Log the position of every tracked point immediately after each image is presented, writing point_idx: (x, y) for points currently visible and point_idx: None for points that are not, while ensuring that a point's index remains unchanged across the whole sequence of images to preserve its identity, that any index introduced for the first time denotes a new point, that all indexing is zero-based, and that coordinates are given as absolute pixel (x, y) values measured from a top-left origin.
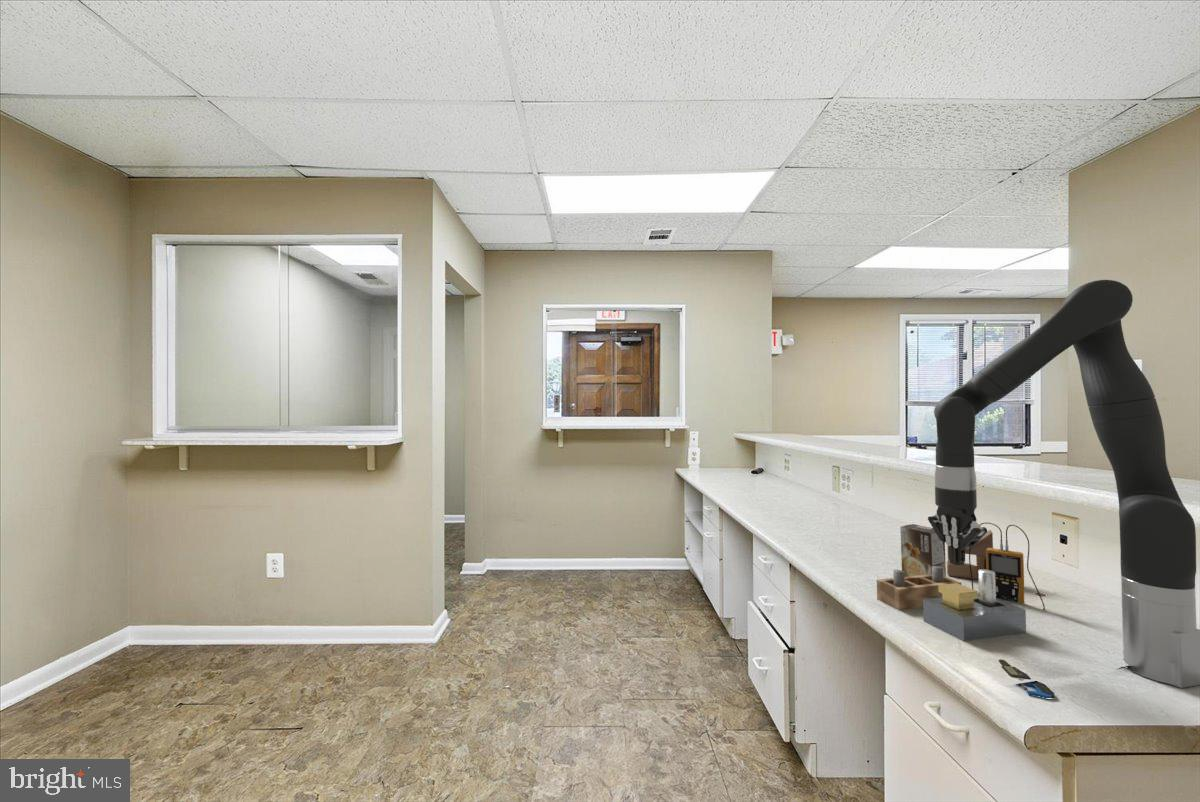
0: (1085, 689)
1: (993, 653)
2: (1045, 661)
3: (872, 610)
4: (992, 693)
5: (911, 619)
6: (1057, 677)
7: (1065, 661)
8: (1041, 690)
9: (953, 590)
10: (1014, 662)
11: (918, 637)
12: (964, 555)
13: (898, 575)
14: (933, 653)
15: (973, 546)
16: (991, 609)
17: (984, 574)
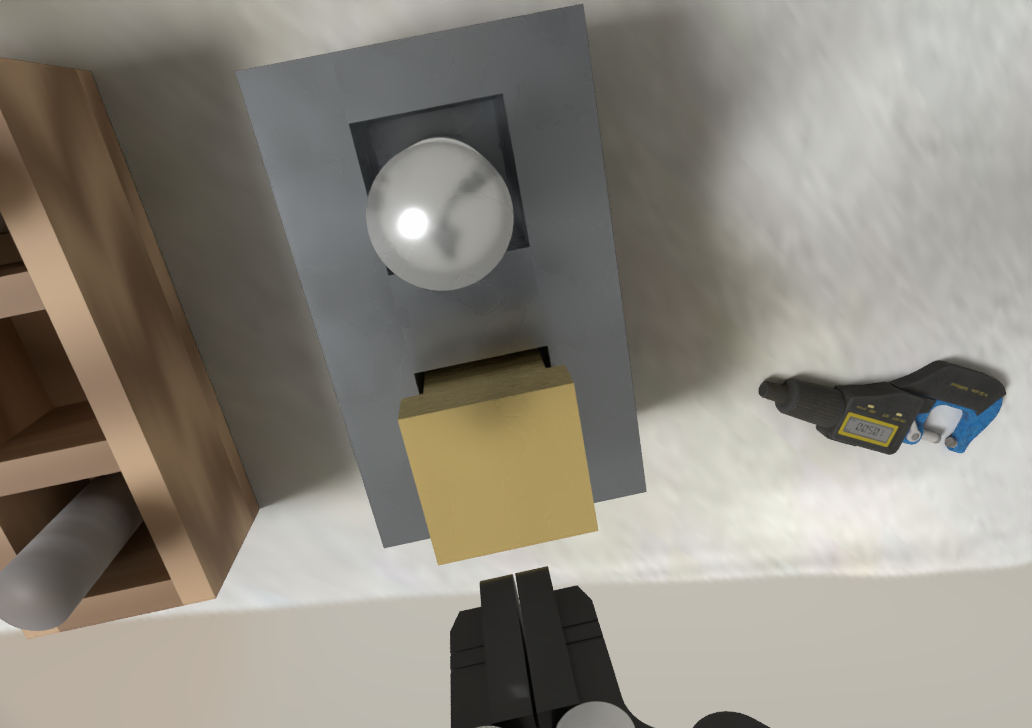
0: (988, 214)
1: (684, 347)
2: (785, 172)
3: (217, 600)
4: (912, 545)
5: (322, 483)
6: (897, 244)
7: (804, 71)
8: (975, 409)
9: (546, 531)
10: (765, 319)
11: (515, 552)
12: (606, 651)
13: (80, 600)
14: (650, 570)
15: (747, 718)
16: (561, 255)
17: (485, 273)
